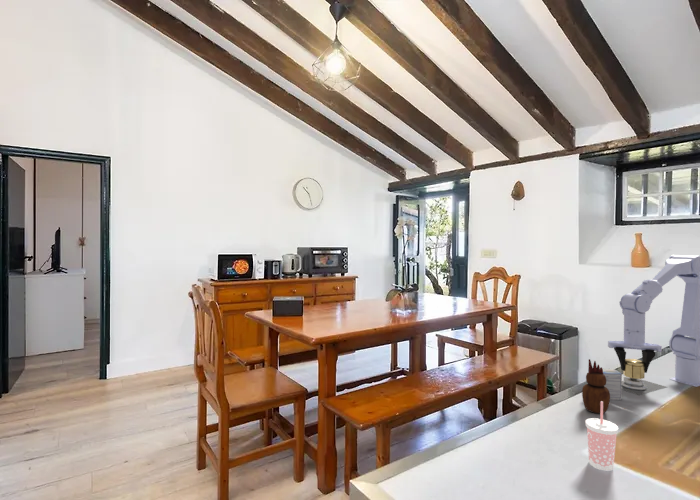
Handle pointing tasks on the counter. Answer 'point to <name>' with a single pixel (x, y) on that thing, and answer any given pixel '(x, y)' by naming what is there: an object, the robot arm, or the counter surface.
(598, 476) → the counter surface
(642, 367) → the cap
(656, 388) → the mat
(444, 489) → the counter surface
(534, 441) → the counter surface
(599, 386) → the wooden figurine
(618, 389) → the medicine box
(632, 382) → the stud post
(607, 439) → the beverage cup
